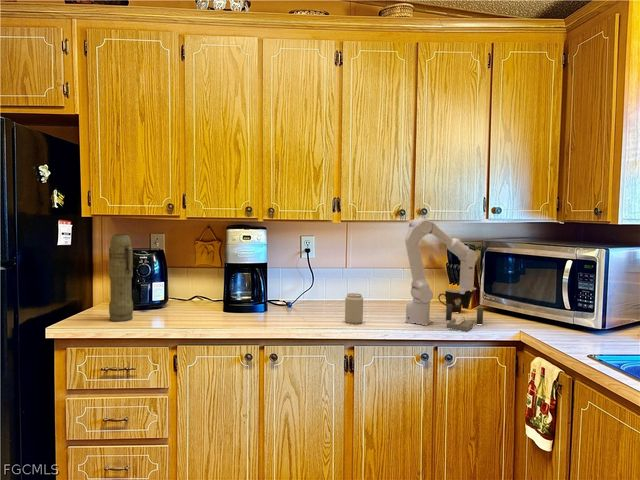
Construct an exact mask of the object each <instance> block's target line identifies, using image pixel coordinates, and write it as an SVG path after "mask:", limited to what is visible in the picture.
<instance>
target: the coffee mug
mask: <svg viewBox="0 0 640 480" xmlns="http://www.w3.org/2000/svg"><path fill="white" fill-rule="evenodd" d="M459 291H460V289H450V288H447V289H445V290H444V293H440V294H438V301H439V302H440V303H441V304H443V305H444V306H445V307H446V305H447V304H452V312H462V308H463V307H462V302H461V298H460V295H459ZM441 296H445V302H443V301H442V300H441V299H440V297H441Z"/></svg>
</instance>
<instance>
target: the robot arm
mask: <svg viewBox="0 0 640 480" xmlns="http://www.w3.org/2000/svg"><path fill="white" fill-rule="evenodd" d="M428 234H429V235H432V236H434V237H435V238H437V239H439V241H441V242H443V243H444V244H445V245H446V248H447V250H448V251H449V252H451V253H452V254H453V255H455V256H456V257H458V260H459V261H460V270H459V286H458V288H459V289H458V290H460V291H459V295H460V298H461V302H462V307H461V308H462V309H467V310H469V308H470V304H471V300H472V297H473V296H474V293H475V291H476V290H477V287H474V282H475V266H476V262H477V261H478V258H479V256H478V254H477V253H476V251H475V250H473V249H470V247H469V245H466V244H464V243H463V242H462V240H461V239H460V238H456V237H453V238H452V237H451V236H450V235H448V234H447V233H446V232H445V231H443V229H441V228H440V227H439V226H438V225H437V224H436V223H434V222H432V221H431V220H430V219H428V218H414V219H412V220H411V221H410V222H409V224H408V225H407V232H406V235H405V238H404V239H405V240H404V242H405V246H406V251H407V252H406V253H407V257H408V262H409V268H410V273H411V278H412V281H411V284H410V285H411V288H410V295H411V296H412V300H408V301H407V303H406V306H405V307H406V308H405V320H404V322H405V323H408V324H414V323H416V324H415V325H420V324H422V325H421V326H428V325H429V323H430V324H432V323H433V320H430V314H431V313H430V311H431V310H430V309H431V301H432V299H433V297H434V292H433V291H432V289H431V288H430V285H429V283H428V281H427V279H426V274H425V270H424V269H425V268H424V264H423V260H422V254H421V249H420V242H421V240H422V239H423V238H424V237H426V236H427V235H428ZM427 324H428V325H427Z"/></svg>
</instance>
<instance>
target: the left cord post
mask: <svg viewBox="0 0 640 480" xmlns="http://www.w3.org/2000/svg"><path fill="white" fill-rule="evenodd" d="M445 307H446V308H445V309H446V310H445V320H446V319H447V320H453V319H452V317H453V313H452V304H447V305H446V306H445ZM447 320H446V321H447Z"/></svg>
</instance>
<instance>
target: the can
mask: <svg viewBox="0 0 640 480" xmlns="http://www.w3.org/2000/svg"><path fill="white" fill-rule="evenodd" d="M362 295H363V294H362V293H358V292H357V293H356V292H355V293H354V292H353V293H351V292H350V293H347V294H346V297H345V299H344V300H345V301H344V321H345V322H346V323H347V324H350V325H351V324H352V325H360V324H361V323H362V322H363V320H364V319H363V318H364V298H363V296H362Z"/></svg>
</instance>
